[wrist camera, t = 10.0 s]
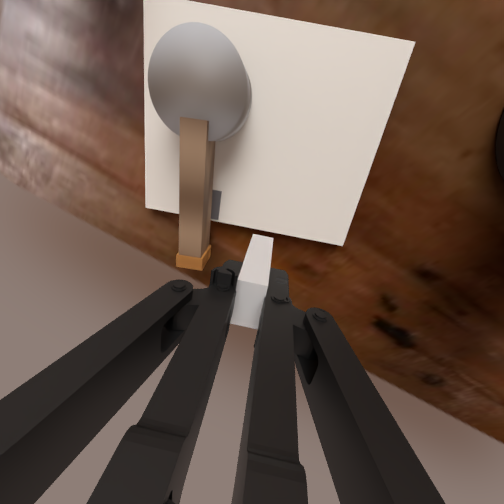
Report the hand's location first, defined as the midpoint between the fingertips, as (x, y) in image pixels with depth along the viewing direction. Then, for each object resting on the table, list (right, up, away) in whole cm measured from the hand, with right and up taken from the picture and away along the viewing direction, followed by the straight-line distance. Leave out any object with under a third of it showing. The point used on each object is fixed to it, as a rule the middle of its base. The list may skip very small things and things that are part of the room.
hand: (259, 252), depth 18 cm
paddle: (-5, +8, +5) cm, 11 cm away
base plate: (0, +11, +6) cm, 12 cm away
